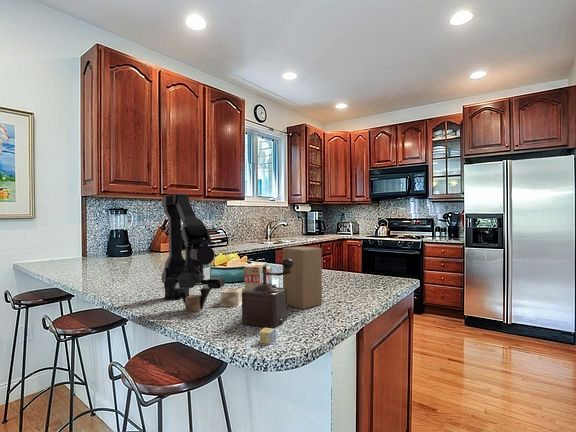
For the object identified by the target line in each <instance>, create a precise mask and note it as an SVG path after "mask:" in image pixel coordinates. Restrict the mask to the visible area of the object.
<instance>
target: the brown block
mask: <svg viewBox="0 0 576 432" xmlns="http://www.w3.org/2000/svg"><path fill="white" fill-rule="evenodd" d="M200 304H201V294H189V296H188V297H186V298H185V304H184V311H185V313H200V312H202V310H203V309H204V307H203V308H202V309H201V306H200Z"/></svg>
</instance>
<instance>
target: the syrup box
mask: <svg viewBox="0 0 576 432" xmlns="http://www.w3.org/2000/svg"><path fill="white" fill-rule="evenodd" d="M210 269H211V270H212V262H211V263H209V264H207V265H205V266H204V267H203V275H205V278H204V279H203V280H208V279H210Z"/></svg>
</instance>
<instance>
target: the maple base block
mask: <svg viewBox="0 0 576 432" xmlns="http://www.w3.org/2000/svg"><path fill="white" fill-rule="evenodd" d="M242 292H243V288H225V289H224V290H223V291H221V296H220V297H221V301H220V302H221V303H220V305H239V304H240V303H241V302H242Z"/></svg>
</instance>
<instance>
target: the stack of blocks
mask: <svg viewBox="0 0 576 432" xmlns="http://www.w3.org/2000/svg"><path fill="white" fill-rule="evenodd" d="M267 263H268V262H263V261H262V262H261V261H259V262H258V261H256V262H255V261H253V262H251V263H249V264H247V265H245V266H244V271H243V272H244V275H243V276H244V277H243V278H244V280H243V281H244V292H245V291H247V290H250V289H253V288H255V287H256V286H258V285H260V284H262V283H263V273H262V271H263V269H262V267H263V266H266V267H267V268H266V271H267V272H272V266H271V265H270V266H269V265H268V264H267ZM267 265H268V266H267ZM266 282H267V284H269V283H271V284H272V285H273V275H266Z"/></svg>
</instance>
